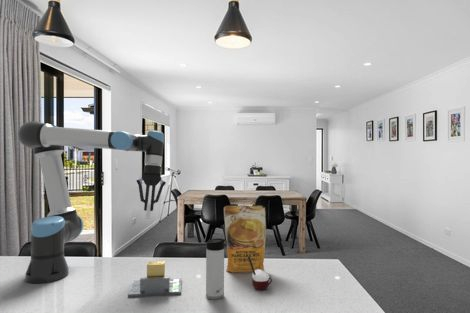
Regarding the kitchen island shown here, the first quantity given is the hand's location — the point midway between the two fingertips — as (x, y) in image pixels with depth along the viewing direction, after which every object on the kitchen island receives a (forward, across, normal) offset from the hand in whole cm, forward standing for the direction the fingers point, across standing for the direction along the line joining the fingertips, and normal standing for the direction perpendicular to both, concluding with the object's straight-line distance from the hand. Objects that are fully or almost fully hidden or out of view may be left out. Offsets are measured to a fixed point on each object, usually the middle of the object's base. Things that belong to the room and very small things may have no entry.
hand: (147, 218), depth 140 cm
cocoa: (+22, -45, +27) cm, 57 cm away
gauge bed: (+24, -7, +21) cm, 33 cm away
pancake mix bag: (+20, -44, +7) cm, 48 cm away
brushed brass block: (+23, -9, +24) cm, 34 cm away
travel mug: (+24, -28, +31) cm, 48 cm away
